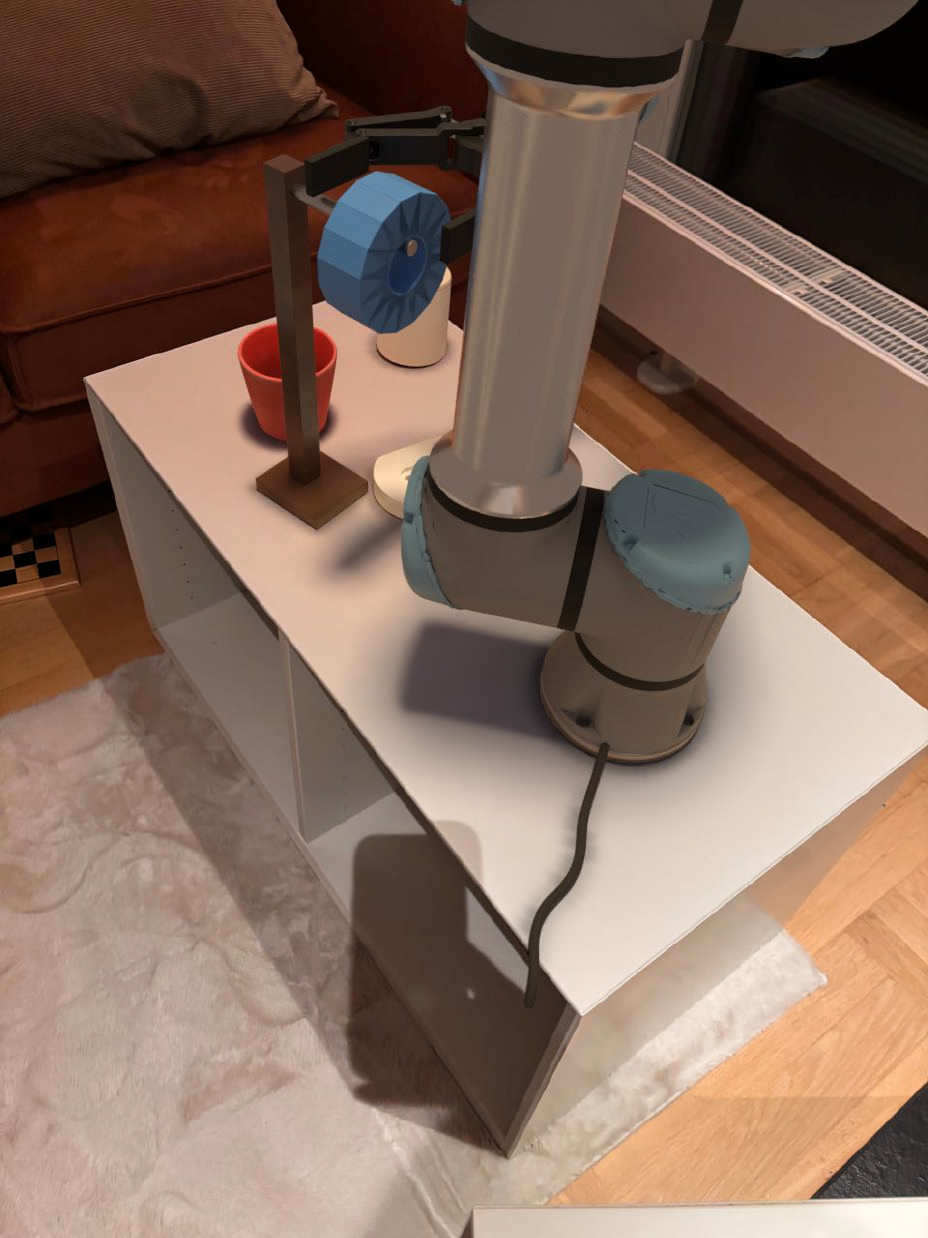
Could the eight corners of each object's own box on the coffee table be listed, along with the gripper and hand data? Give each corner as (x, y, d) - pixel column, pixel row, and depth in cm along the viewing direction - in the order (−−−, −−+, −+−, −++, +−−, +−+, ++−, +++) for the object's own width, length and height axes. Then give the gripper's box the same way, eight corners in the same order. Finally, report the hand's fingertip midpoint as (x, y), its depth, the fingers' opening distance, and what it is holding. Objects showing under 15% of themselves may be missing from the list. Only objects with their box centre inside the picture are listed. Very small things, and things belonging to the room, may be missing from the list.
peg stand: (425, 527, 98) (447, 208, 72) (374, 568, 94) (377, 244, 67) (308, 453, 104) (289, 133, 78) (256, 489, 100) (216, 163, 73)
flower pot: (357, 414, 110) (357, 343, 102) (301, 463, 103) (295, 392, 96) (286, 380, 112) (280, 309, 105) (226, 427, 106) (215, 355, 99)
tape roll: (447, 302, 80) (457, 173, 71) (360, 355, 74) (359, 221, 65) (408, 281, 81) (413, 153, 73) (319, 332, 75) (314, 198, 67)
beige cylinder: (370, 278, 108) (366, 354, 116) (443, 298, 108) (434, 373, 115) (400, 238, 116) (394, 312, 123) (468, 256, 115) (458, 329, 123)
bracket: (507, 426, 110) (514, 379, 105) (550, 470, 106) (560, 423, 101) (359, 479, 102) (359, 431, 97) (399, 528, 98) (401, 481, 93)
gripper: (649, 224, 79) (500, 323, 68) (426, 126, 88) (261, 199, 76) (672, 133, 73) (513, 224, 62) (430, 38, 82) (252, 103, 71)
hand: (373, 211), depth 69 cm, fingers open, 13 cm apart
